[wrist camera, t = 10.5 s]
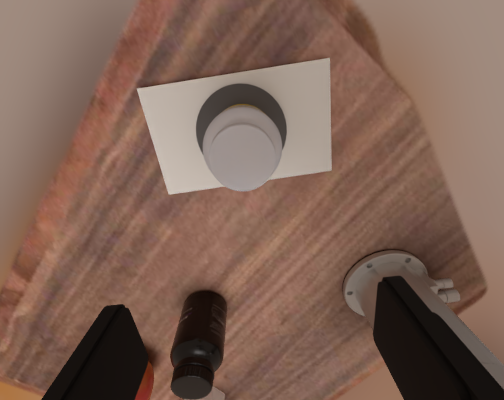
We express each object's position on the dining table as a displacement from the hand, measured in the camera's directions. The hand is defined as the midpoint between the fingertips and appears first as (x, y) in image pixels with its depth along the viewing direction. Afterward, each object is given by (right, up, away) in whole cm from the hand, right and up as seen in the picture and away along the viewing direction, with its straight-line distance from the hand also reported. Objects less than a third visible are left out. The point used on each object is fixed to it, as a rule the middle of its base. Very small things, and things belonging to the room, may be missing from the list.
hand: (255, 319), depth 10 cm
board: (-1, +13, +20) cm, 23 cm away
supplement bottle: (-7, -12, +31) cm, 34 cm away
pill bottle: (-1, +12, +18) cm, 22 cm away
